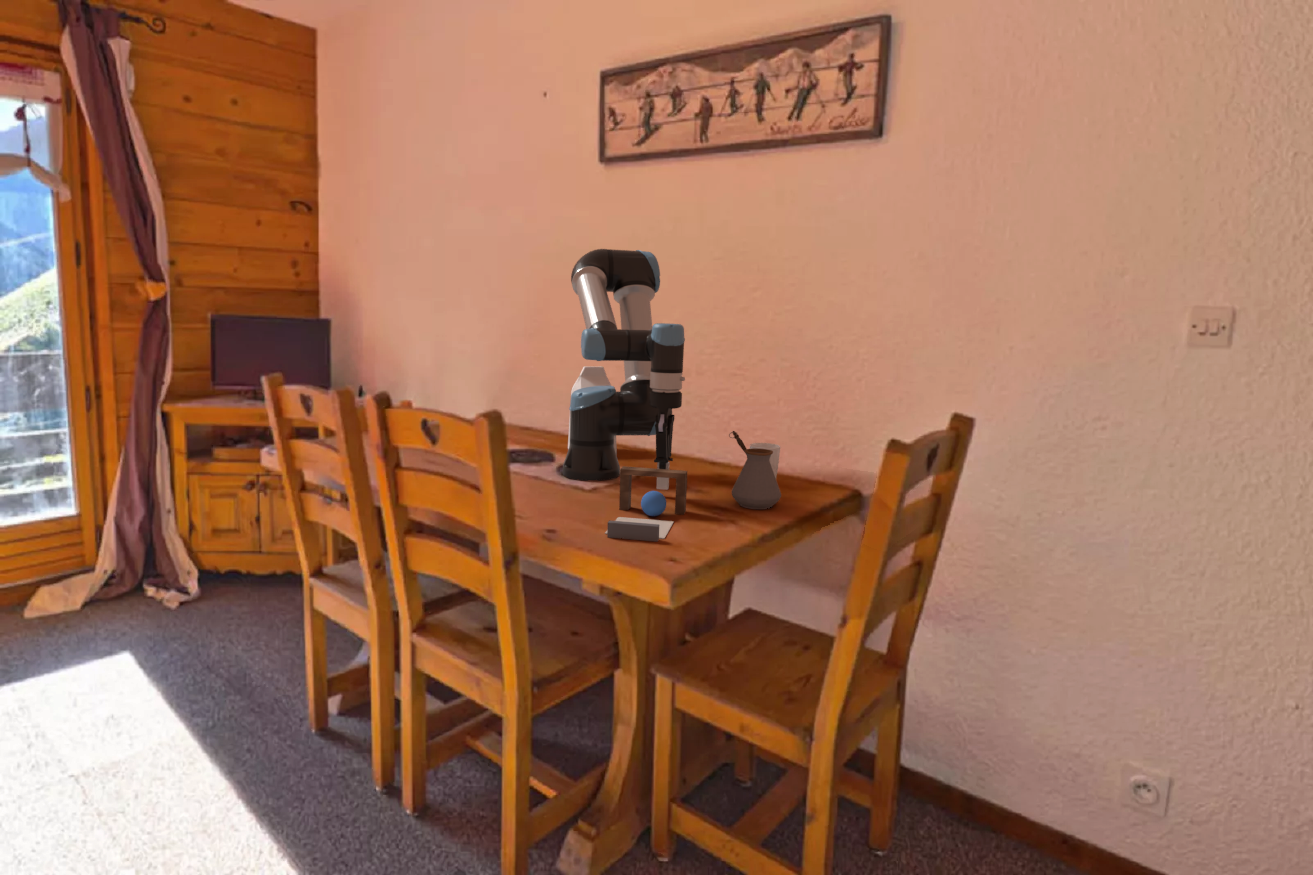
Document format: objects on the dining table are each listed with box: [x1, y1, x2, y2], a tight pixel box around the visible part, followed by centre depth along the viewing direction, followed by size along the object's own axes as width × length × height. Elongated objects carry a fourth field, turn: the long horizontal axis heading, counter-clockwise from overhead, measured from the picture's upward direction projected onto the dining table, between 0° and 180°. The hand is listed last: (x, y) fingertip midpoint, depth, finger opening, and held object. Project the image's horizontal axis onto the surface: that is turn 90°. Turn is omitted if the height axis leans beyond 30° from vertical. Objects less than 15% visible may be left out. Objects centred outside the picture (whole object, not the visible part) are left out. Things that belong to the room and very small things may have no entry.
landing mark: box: [604, 516, 675, 540], centre depth 157 cm, size 12×12×1 cm
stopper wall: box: [606, 520, 660, 542], centre depth 150 cm, size 10×2×3 cm, turn 80°
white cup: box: [749, 442, 781, 479], centre depth 200 cm, size 8×8×10 cm
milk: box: [567, 366, 618, 455], centre depth 233 cm, size 12×12×26 cm
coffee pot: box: [728, 430, 782, 510], centre depth 182 cm, size 21×12×15 cm, turn 17°
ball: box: [640, 490, 667, 517], centre depth 166 cm, size 6×6×6 cm
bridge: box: [618, 465, 688, 516], centre depth 170 cm, size 14×3×9 cm, turn 80°
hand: (662, 488), depth 183 cm, fingers closed
